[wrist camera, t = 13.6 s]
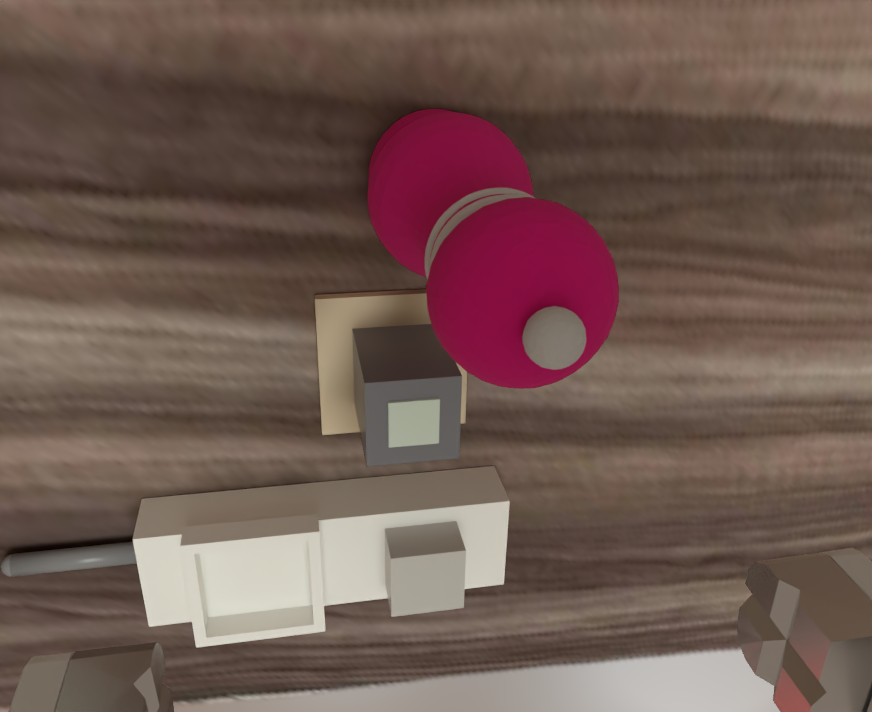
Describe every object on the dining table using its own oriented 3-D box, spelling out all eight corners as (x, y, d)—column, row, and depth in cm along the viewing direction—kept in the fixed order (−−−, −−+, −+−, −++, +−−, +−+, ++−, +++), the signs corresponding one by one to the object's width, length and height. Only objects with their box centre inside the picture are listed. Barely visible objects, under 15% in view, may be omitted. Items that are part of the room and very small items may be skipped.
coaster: (467, 286, 42) (470, 290, 42) (463, 417, 46) (465, 423, 45) (314, 295, 41) (314, 299, 40) (321, 429, 44) (322, 435, 44)
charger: (437, 323, 42) (462, 377, 37) (436, 398, 44) (460, 459, 39) (352, 328, 41) (364, 384, 36) (354, 404, 43) (366, 468, 38)
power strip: (494, 459, 47) (522, 522, 42) (489, 551, 51) (514, 620, 45) (-9, 505, 43) (-48, 583, 37) (18, 604, 46) (-14, 688, 41)
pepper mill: (532, 165, 40) (739, 329, 22) (436, 271, 42) (559, 504, 24) (426, 63, 37) (571, 162, 19) (327, 183, 38) (376, 375, 21)
